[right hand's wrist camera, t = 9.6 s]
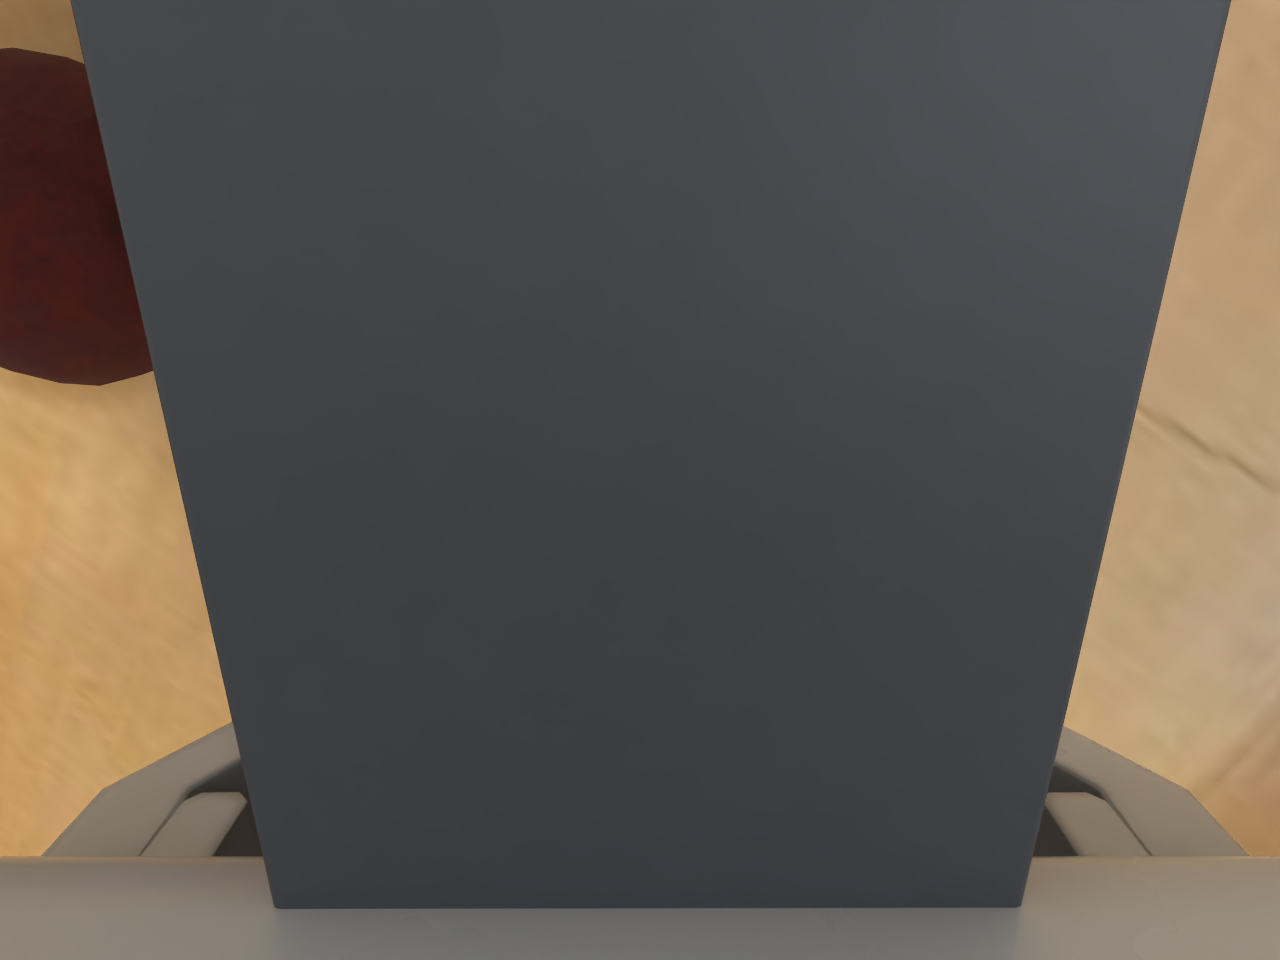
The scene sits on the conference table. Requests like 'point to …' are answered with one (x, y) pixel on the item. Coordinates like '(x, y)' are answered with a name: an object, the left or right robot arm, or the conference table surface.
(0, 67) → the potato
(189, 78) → the bar
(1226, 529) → the conference table surface
